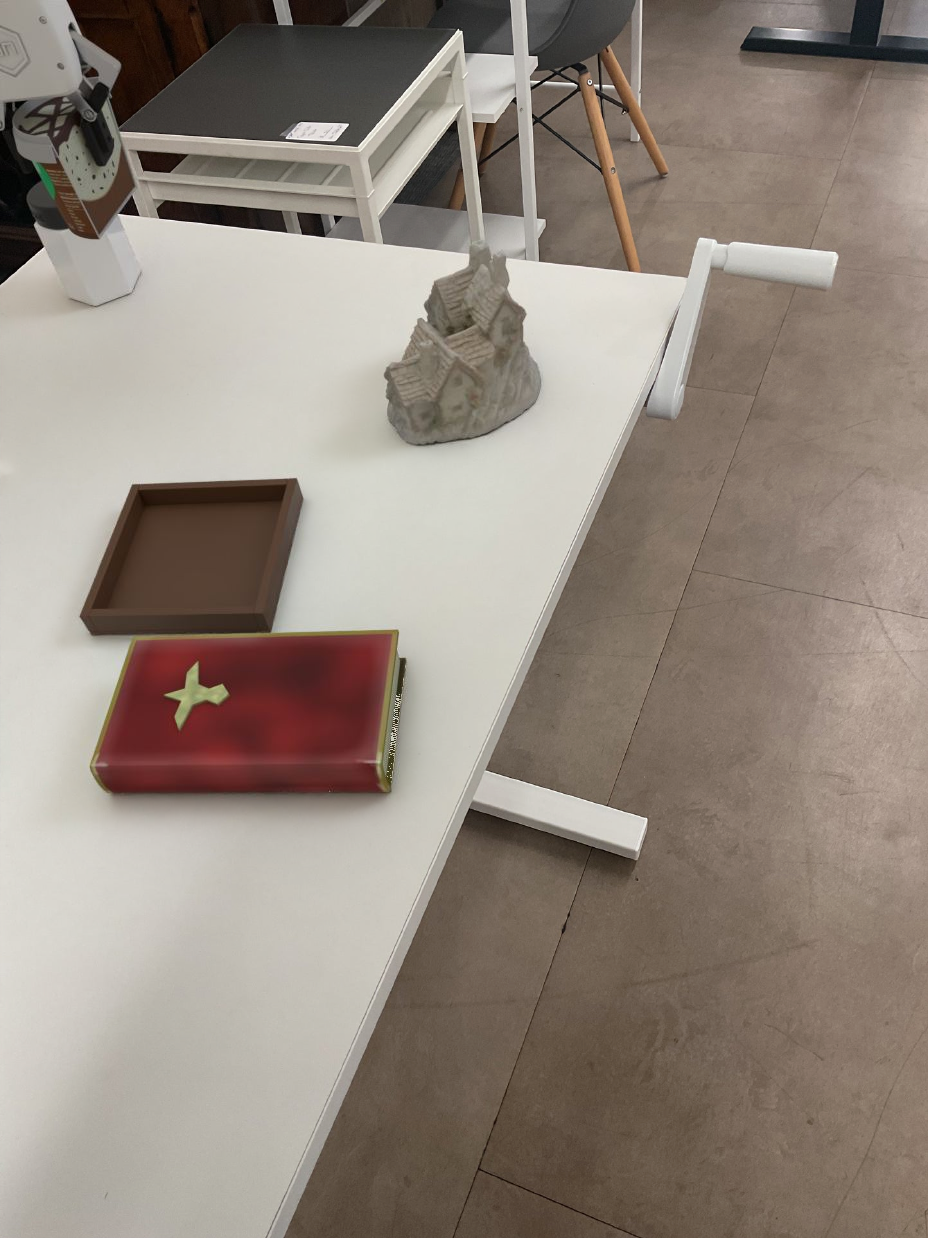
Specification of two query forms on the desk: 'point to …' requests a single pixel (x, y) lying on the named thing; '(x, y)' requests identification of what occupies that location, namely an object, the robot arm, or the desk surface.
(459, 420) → the ceramic cottage
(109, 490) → the desk surface
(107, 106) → the food container
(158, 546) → the tray
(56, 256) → the jar
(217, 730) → the hardcover book
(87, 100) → the robot arm
